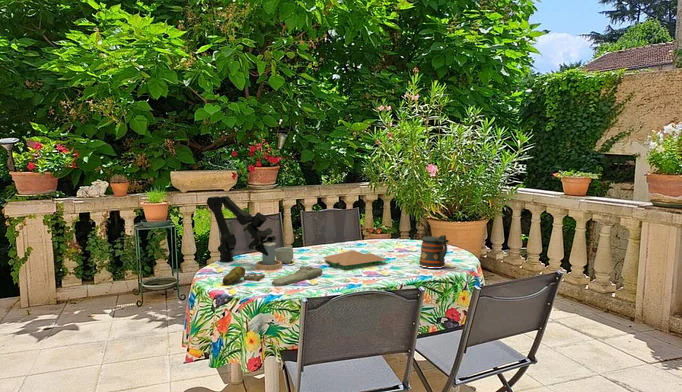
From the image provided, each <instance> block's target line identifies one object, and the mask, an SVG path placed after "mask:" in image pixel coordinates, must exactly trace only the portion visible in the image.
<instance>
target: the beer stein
mask: <svg viewBox="0 0 682 392" xmlns="http://www.w3.org/2000/svg"><path fill="white" fill-rule="evenodd" d="M421 240H422V242H421V246H420V251H421V252H420V257H419V262H418V263H419V264H420V265H422V266H426V267H442V266H444V265H445V266H446V264H445V263H446V262H445V260H446V259H445V258H446V256H447V252H448V245H447V243H449V239H447V236H446V234H444V235H440V236H432V235H431V236H426V235H424V236H423V237H422V238H421ZM419 264H418V265H419Z"/></svg>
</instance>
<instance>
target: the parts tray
mask: <svg viewBox="0 0 682 392" xmlns="http://www.w3.org/2000/svg"><path fill="white" fill-rule="evenodd" d="M256 274H257V273H252V272H250V273H248V274H247V275H244V277H243V281H248V282H249V281H250V282H260V281H261V280H263V279H265V277H266V274H265V273H264V274H263V273H259V274H260V275H261V276H260V277H258V278H252V277H249V275H256Z"/></svg>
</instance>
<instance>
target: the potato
mask: <svg viewBox="0 0 682 392" xmlns="http://www.w3.org/2000/svg"><path fill="white" fill-rule="evenodd" d="M246 271H247V270H246V269H245V268H244V267H243V266H242V265H238V266H235V267H233V268H232V269H231V270H229V272H228V273H227V274H226V275H225V276H224V277H223V278H222V284H223V285H225V286H228V285H231V284H235V283H237V282H238V281H239V280H241V279H242V278H244V277H245V276H246Z"/></svg>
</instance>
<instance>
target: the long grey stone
mask: <svg viewBox="0 0 682 392" xmlns="http://www.w3.org/2000/svg"><path fill="white" fill-rule="evenodd" d="M322 274H323V269H322V268H321V267H313V266H309V265H307V266H304V265H302V266H300V267H299V269H298V270H296V271H295V272H294V273H289V274H288V275H287V274H286V275H284V276H282V277H277V278H274V279H273V281H272V282H271V285H272V286H274V287H284V286H289V285H293V284H296V283H299V282H303V281H306V280H311V279H313V278H316V277H319V276H320V275H322Z"/></svg>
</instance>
